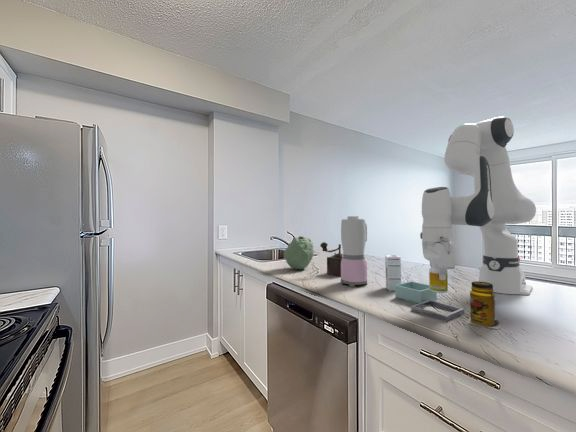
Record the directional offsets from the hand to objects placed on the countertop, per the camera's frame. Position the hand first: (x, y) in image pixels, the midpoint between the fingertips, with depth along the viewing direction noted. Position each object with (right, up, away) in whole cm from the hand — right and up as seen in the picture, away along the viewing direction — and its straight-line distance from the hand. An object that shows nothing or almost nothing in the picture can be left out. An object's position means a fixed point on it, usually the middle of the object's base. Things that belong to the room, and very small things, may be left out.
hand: (438, 277), depth 89 cm
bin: (-1, -12, +14) cm, 18 cm away
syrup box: (-4, -12, +28) cm, 31 cm away
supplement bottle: (0, -5, 0) cm, 5 cm away
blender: (-18, -12, +38) cm, 44 cm away
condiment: (+9, -12, -9) cm, 17 cm away
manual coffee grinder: (-24, -12, +57) cm, 63 cm away
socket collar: (0, -12, 0) cm, 12 cm away
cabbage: (-43, -12, +73) cm, 86 cm away
